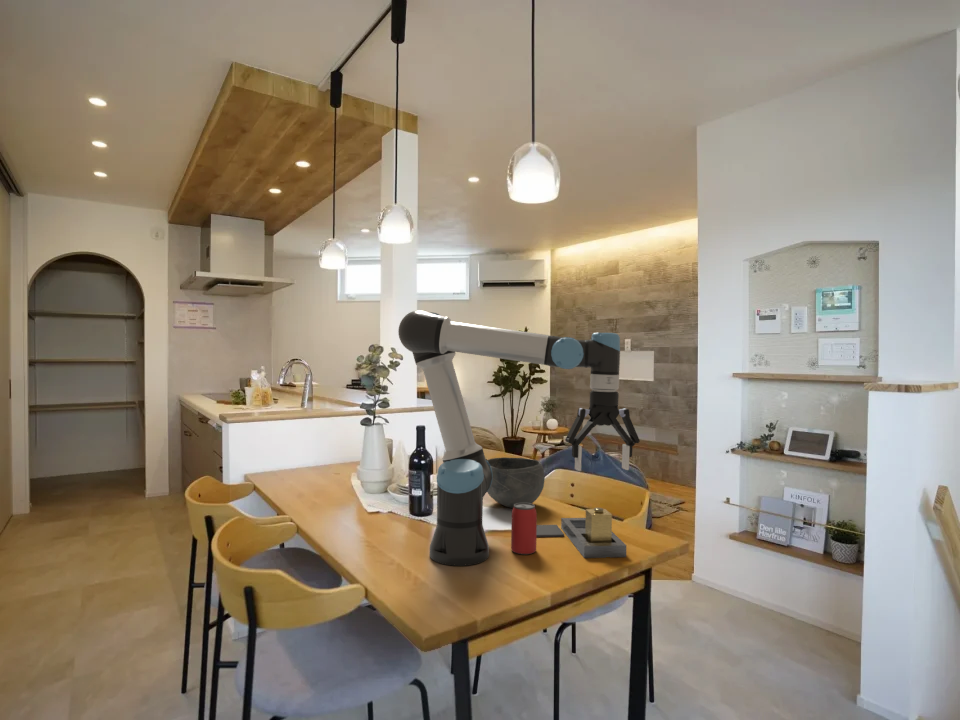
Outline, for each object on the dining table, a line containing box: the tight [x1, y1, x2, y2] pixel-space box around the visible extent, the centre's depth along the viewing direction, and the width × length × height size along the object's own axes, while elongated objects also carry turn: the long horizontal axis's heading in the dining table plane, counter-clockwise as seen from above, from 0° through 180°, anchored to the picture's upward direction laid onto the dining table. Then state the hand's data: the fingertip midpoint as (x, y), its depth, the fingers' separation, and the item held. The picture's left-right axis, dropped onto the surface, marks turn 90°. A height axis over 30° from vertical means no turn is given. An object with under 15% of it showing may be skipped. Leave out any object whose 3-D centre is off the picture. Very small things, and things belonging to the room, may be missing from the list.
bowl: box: [486, 456, 546, 509], centre depth 188 cm, size 21×21×15 cm
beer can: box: [510, 503, 538, 556], centre depth 145 cm, size 7×7×12 cm
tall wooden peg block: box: [585, 507, 613, 543], centre depth 147 cm, size 5×5×11 cm
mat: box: [536, 524, 565, 538], centre depth 161 cm, size 9×9×1 cm
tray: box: [560, 517, 627, 559], centre depth 153 cm, size 11×24×3 cm, turn 6°
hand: (601, 469), depth 149 cm, fingers open, 13 cm apart
